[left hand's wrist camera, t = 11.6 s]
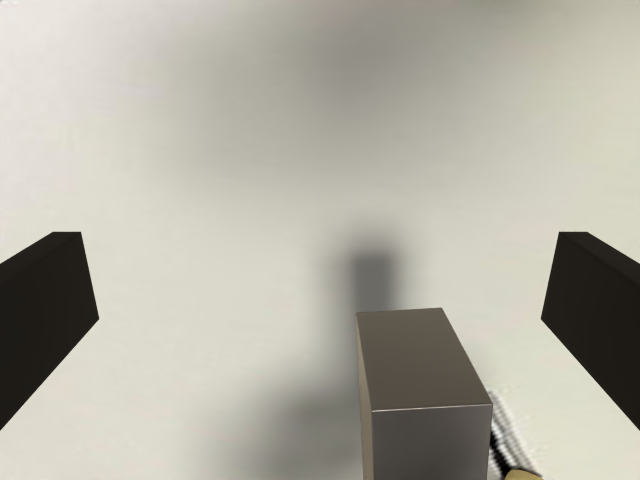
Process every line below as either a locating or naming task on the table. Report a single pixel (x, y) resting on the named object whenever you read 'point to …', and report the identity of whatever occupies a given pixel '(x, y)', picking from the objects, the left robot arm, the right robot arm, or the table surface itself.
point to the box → (419, 399)
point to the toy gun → (521, 475)
